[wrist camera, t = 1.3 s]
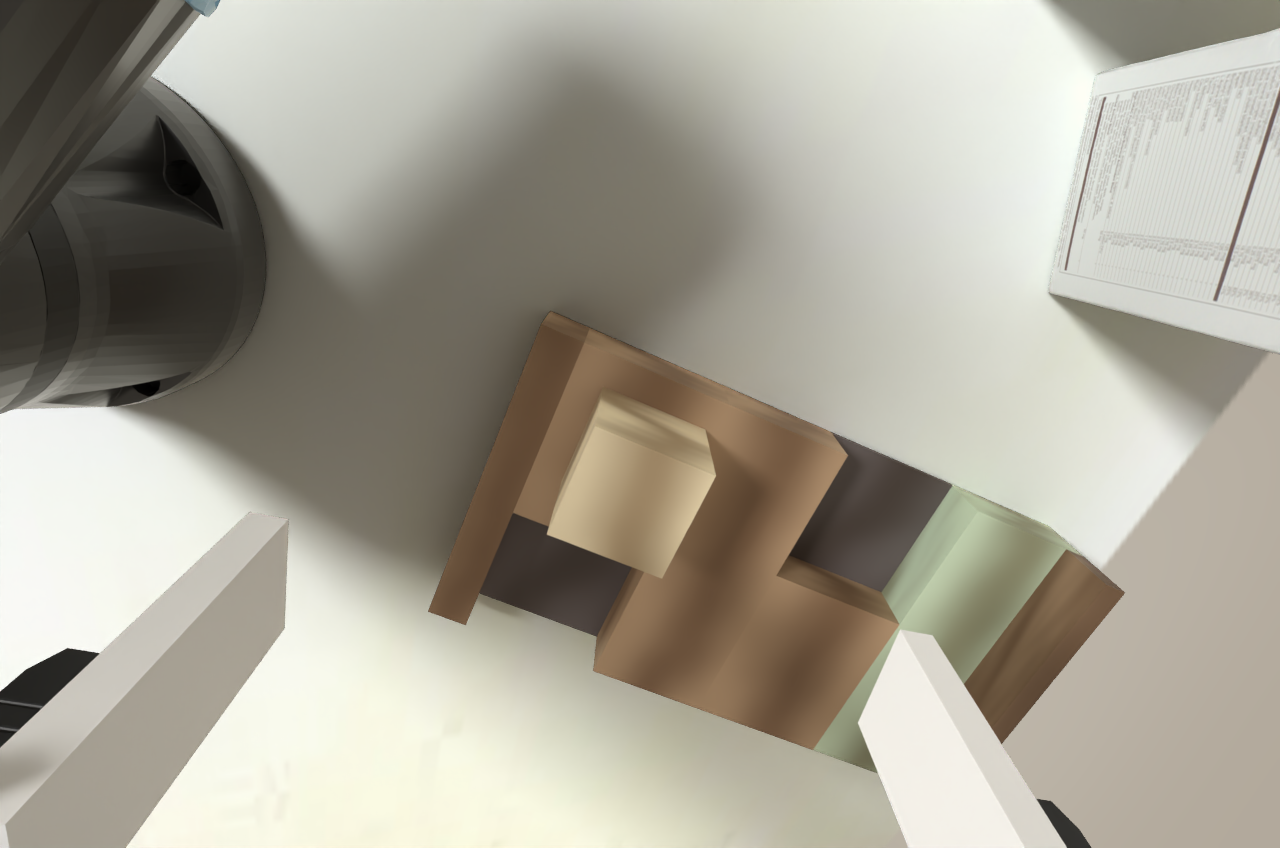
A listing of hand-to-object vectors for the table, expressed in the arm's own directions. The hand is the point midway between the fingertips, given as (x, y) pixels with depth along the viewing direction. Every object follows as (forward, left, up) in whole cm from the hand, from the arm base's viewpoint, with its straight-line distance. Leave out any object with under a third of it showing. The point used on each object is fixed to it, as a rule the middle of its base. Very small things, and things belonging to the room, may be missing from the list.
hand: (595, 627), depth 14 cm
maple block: (+2, -3, -16) cm, 17 cm away
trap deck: (+10, -7, -19) cm, 23 cm away
